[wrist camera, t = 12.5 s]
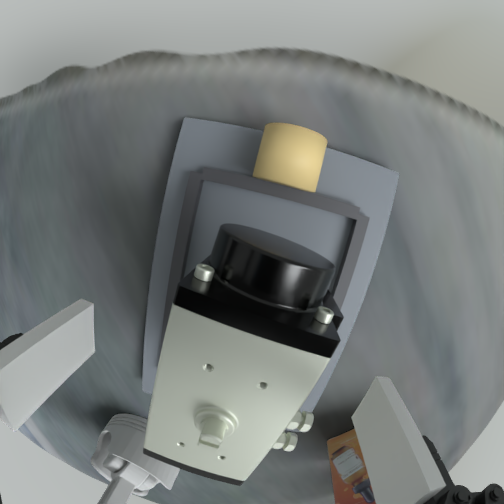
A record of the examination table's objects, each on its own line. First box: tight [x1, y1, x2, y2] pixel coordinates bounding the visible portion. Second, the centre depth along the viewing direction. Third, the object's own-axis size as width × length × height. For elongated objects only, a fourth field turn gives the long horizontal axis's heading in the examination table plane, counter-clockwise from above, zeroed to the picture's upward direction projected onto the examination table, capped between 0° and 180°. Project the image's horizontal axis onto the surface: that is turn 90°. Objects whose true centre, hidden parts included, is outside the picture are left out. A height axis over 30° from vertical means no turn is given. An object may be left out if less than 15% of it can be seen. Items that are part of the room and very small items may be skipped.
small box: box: [327, 429, 376, 504], centre depth 17 cm, size 8×6×10 cm
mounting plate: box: [142, 117, 399, 432], centre depth 17 cm, size 23×15×5 cm, turn 166°
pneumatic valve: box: [143, 223, 344, 486], centre depth 13 cm, size 6×12×12 cm, turn 161°
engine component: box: [91, 413, 180, 504], centre depth 15 cm, size 11×20×10 cm
